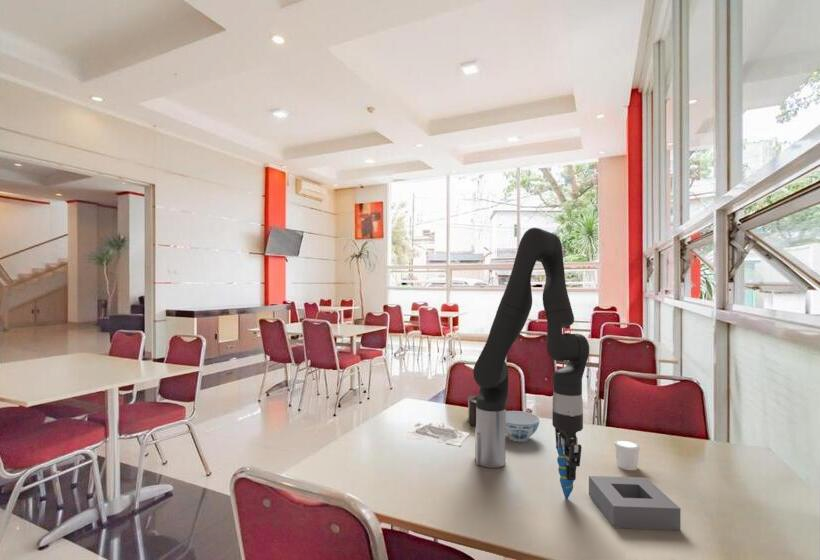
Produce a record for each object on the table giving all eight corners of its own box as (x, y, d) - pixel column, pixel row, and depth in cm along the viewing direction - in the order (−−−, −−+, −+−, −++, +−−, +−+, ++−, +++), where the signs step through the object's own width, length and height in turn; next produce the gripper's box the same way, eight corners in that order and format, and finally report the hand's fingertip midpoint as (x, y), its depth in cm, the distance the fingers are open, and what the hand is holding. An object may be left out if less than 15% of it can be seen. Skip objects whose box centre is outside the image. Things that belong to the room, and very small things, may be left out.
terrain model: (414, 428, 164) (414, 415, 164) (471, 432, 157) (471, 419, 157) (401, 443, 148) (400, 428, 148) (463, 448, 141) (463, 433, 141)
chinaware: (544, 436, 152) (544, 415, 152) (532, 449, 139) (533, 427, 139) (505, 428, 160) (505, 408, 160) (491, 440, 147) (491, 419, 148)
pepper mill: (497, 427, 161) (498, 381, 161) (469, 426, 162) (469, 380, 162) (492, 414, 177) (493, 373, 177) (466, 414, 177) (467, 372, 178)
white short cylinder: (642, 472, 123) (642, 449, 123) (618, 470, 125) (618, 447, 125) (635, 462, 130) (635, 440, 130) (611, 460, 131) (611, 438, 131)
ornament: (553, 494, 110) (553, 437, 110) (571, 493, 110) (571, 437, 111) (562, 504, 105) (562, 445, 105) (581, 503, 105) (581, 444, 106)
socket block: (613, 527, 95) (613, 506, 95) (588, 494, 110) (588, 475, 110) (680, 530, 94) (680, 508, 94) (646, 496, 109) (646, 477, 109)
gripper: (545, 401, 115) (545, 462, 115) (561, 418, 101) (561, 487, 101) (572, 402, 115) (572, 463, 115) (592, 418, 100) (592, 488, 100)
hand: (567, 474), depth 108 cm, fingers closed on ornament, 5 cm apart
